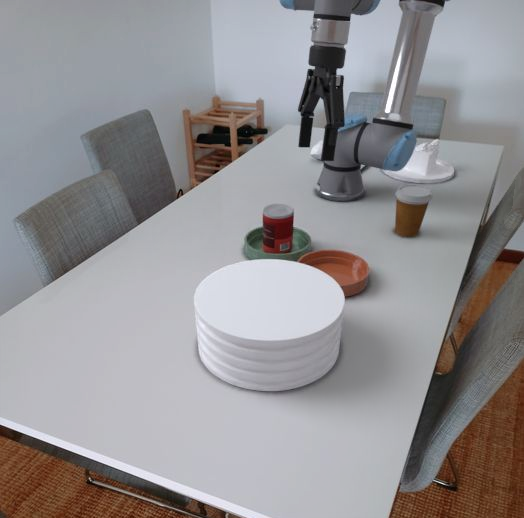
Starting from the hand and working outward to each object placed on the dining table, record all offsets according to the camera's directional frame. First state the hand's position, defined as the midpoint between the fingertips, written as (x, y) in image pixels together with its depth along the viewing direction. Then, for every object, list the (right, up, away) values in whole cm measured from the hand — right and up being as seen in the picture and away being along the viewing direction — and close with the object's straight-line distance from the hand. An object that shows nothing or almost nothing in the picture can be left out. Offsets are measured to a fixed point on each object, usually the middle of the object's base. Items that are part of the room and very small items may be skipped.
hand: (315, 153), depth 116 cm
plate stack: (-11, -44, -14) cm, 47 cm away
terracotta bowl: (+5, -28, +6) cm, 29 cm away
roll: (+12, +32, +77) cm, 84 cm away
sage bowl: (-8, -19, +17) cm, 27 cm away
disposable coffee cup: (+28, -12, +26) cm, 40 cm away
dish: (+43, +19, +66) cm, 81 cm away
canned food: (-8, -19, +17) cm, 27 cm away
